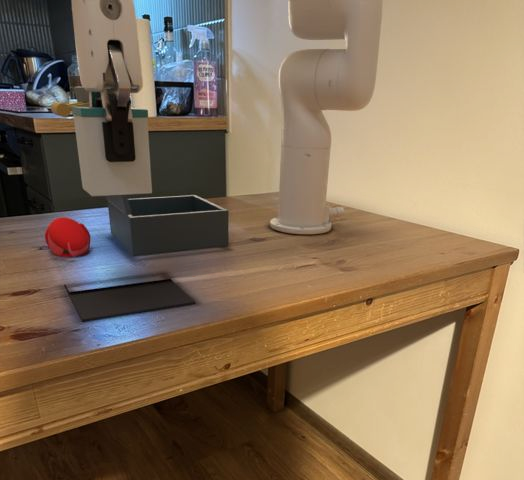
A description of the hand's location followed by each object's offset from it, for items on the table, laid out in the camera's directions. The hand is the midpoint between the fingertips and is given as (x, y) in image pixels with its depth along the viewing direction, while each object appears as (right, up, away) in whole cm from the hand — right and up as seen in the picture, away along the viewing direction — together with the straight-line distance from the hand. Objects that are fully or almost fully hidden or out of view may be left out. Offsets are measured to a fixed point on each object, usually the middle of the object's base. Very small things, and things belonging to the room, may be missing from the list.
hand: (114, 156), depth 58 cm
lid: (-7, +9, +19) cm, 22 cm away
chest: (+1, -4, +30) cm, 31 cm away
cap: (-14, -8, +22) cm, 27 cm away
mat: (-1, -15, +8) cm, 17 cm away
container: (0, -3, +2) cm, 4 cm away
